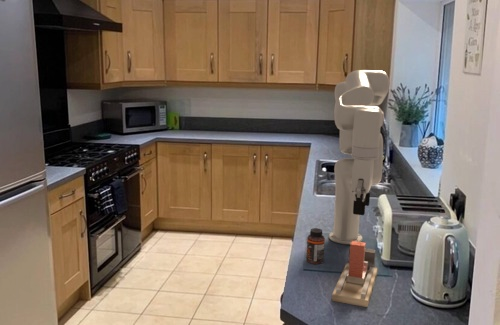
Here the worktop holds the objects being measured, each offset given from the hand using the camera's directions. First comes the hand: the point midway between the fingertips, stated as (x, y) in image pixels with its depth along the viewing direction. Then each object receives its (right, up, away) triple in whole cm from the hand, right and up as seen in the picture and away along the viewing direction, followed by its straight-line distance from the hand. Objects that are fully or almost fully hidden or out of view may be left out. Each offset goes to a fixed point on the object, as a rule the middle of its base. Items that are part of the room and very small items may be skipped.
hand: (361, 209), depth 144 cm
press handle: (0, -21, +6) cm, 22 cm away
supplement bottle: (-10, -20, +24) cm, 33 cm away
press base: (0, -24, +6) cm, 25 cm away
